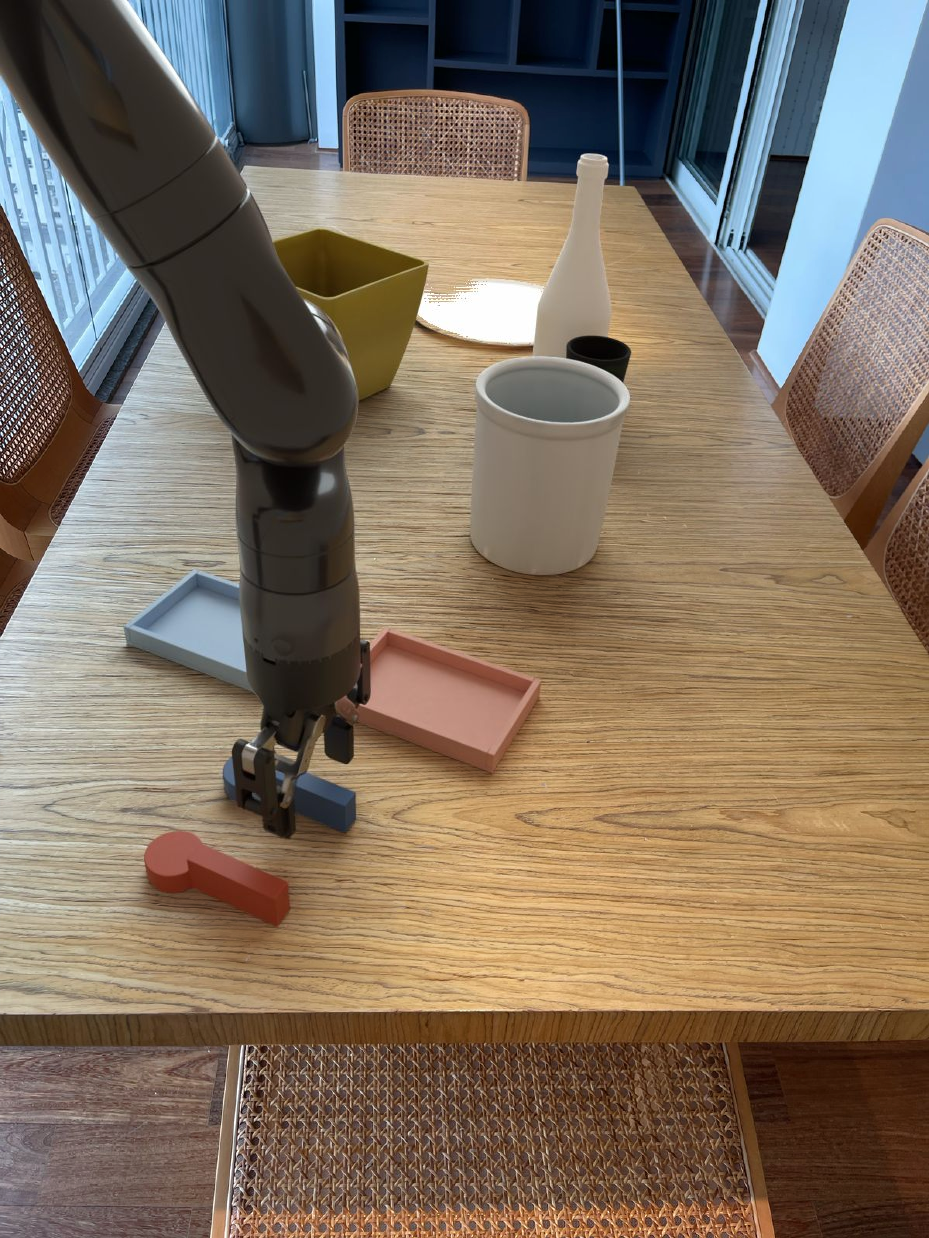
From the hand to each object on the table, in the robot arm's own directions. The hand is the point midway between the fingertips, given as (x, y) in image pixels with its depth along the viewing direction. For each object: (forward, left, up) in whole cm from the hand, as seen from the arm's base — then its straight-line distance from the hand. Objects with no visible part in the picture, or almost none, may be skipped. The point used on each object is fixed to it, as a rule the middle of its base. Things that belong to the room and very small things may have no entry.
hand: (311, 793), depth 74 cm
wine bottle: (+79, +9, -2) cm, 79 cm away
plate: (+101, +28, -2) cm, 105 cm away
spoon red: (-9, +2, -2) cm, 9 cm away
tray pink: (+15, -3, -2) cm, 15 cm away
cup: (+68, +2, -2) cm, 68 cm away
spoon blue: (0, +2, -2) cm, 3 cm away
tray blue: (+14, +17, -2) cm, 22 cm away
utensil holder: (+43, -1, -2) cm, 43 cm away
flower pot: (+64, +37, -2) cm, 74 cm away
